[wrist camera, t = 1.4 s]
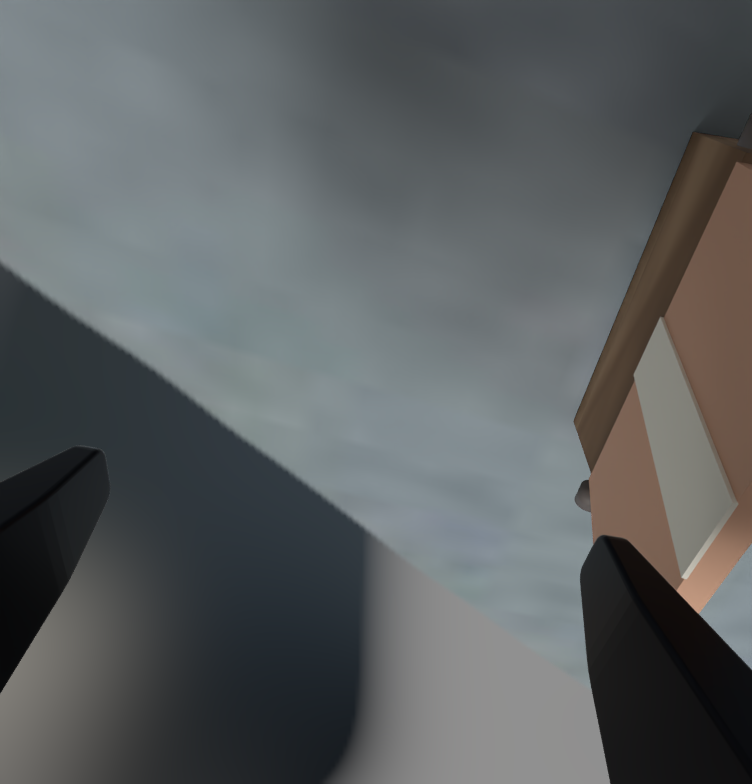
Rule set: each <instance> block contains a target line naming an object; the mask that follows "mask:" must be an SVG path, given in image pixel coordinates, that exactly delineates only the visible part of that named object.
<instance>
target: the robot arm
mask: <svg viewBox="0 0 752 784" xmlns="http://www.w3.org/2000/svg"><path fill="white" fill-rule="evenodd" d="M109 494H110V480H109V474H108V467H107V462H106V456H105V453H104V452H103V451H102V450H101V449H99V448H94V447H87V446H80V445H77V446H74V447H71V448H69V449H67V450H65V451H63V452H61V453H59V454H57V455H55V456H53V457H51V458H49V459H47V460H45V461H43V462H41V463H39V464H37V465H34V466H32V467H30V468H28V469H26V470H24V471H22V472H20V473H18V474H16V475H14V476H12V477H10V478H8V479H6V480H4V481H2V482H0V693H1V692H2V690H3V688H4V687H5V685H6V683H7V682H8V680H9V679H10V677H11V675H12V674H13V672H14V670H15V669H16V667H17V666H18V664H19V662H20V661H21V659H22V657H23V656H24V654H25V652H26V651H27V649H28V648H29V646H30V644H31V643H32V641H33V640H34V638H35V636H36V634H37V633H38V631H39V630H40V628H41V626H42V625H43V623H44V622H45V620H46V618H47V617H48V615H49V613H50V612H51V610H52V608H53V607H54V605H55V604H56V602H57V600H58V599H59V597H60V596H61V594H62V592H63V590H64V589H65V587H66V585H67V583H68V582H69V580H70V578H71V576H72V574H73V572H74V570H75V568H76V566H77V564H78V562H79V560H80V558H81V555H82V553H83V551H84V549H85V547H86V545H87V543H88V541H89V539H90V536H91V534H92V532H93V530H94V528H95V526H96V524H97V522H98V519H99V517H100V515H101V513H102V511H103V509H104V507H105V504H106V502H107V500H108V498H109ZM580 585H581V597H582V608H583V620H584V631H585V643H586V654H587V663H588V672H589V677H590V683H591V689H592V694H593V698H594V704H595V708H596V714H597V719H598V724H599V728H600V734H601V738H602V743H603V749H604V753H605V758H606V764H607V769H608V774H609V779H610V784H752V670H751V669H750V667H749V666H748V665H747V664H746V663H745V662H744V661H743V660H742V659H741V658H740V657H739V656H738V655H737V654H736V653H735V652H734V651H733V650H732V649H731V648H730V647H729V645H728V644H727V643H726V642H725V641H724V640H723V639H722V638H721V637H720V636H719V635H718V634H717V633H716V632H715V631H714V630H713V629H712V628H711V627H710V626H709V624H708V623H707V622H706V621H705V620H704V619H703V618H702V617H701V616H700V615H699V614H698V613H697V612H696V611H695V610H694V609H693V608H692V607H691V606H690V605H689V603H688V602H687V601H686V600H685V599H684V598H683V597H682V596H681V595H680V594H679V593H678V592H677V591H676V590H675V589H674V588H673V587H672V586H671V585H670V584H669V582H668V581H667V580H666V579H665V578H664V577H663V576H662V575H661V574H660V573H659V572H658V571H657V570H656V569H655V568H654V567H653V566H652V565H651V564H650V563H649V561H648V560H647V559H646V558H645V557H644V556H643V555H642V554H641V553H640V552H639V551H638V550H637V549H636V548H635V547H634V546H633V545H632V544H631V543H630V542H629V541H628V540H627V539H625V538H621V537H616V536H610V535H600V536H599V537H598V538H597V539H596V541H595V543H594V545H593V546H592V548H591V550H590V552H589V554H588V556H587V558H586V560H585V562H584V564H583V566H582V569H581V574H580Z"/></svg>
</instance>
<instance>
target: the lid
mask: <svg viewBox="0 0 752 784" xmlns="http://www.w3.org/2000/svg"><path fill="white" fill-rule="evenodd" d="M634 379H635V381H634V383H633V385H632V387H631V390H630V392H629V394H628V396H627V398H626V400H625V402H624V405H623V407H622V409H621V411H620V413H619V415H618V417H617V420H616V422H615V424H614V426H613V428H612V430H611V433H610V435H609V437H608V439H607V441H606V443H605V445H604V448H603V450H602V452H601V454H600V456H599V458H598V460H597V463H596V465H595V467H594V469H593V471H592V473H591V475H590V478H589V489H590V503H591V516H592V530H593V544H594V543H595V541H596V539H597V538H598V537H599V536H600V535H610V536H616V537H621V538H625V539H627V540H628V541H629V542H630V543H631V544H632V545H633V546H634V547H635V548H636V549H637V550H638V551H639V552H640V553H641V554H642V555H643V556H644V557H645V558H646V559H647V560H648V561H649V563H650V564H651V565H652V566H653V567H654V568H655V569H656V570H657V571H658V572H659V573H660V574H661V575H662V576H663V577H664V578H665V579H666V580H667V581H668V582H669V584H670V585H671V586H672V587H673V588H674V589H675V590H676V591H677V592H678V593H679V594H680V595H681V596H682V597H683V598H684V599H685V600H686V601H687V602H688V603H689V605H690V606H691V607H692V608H693V609H694V610H695V611H696V612H697V613H698V614H699V613H700V611H701V610H702V609H703V607H704V606H705V605H706V603H707V602H708V601H709V599H710V598H711V597H712V595H713V594H714V593H715V591H716V590H717V589H718V587H719V586H720V585H721V583H722V582H723V581H724V579H725V578H726V577H727V575H728V574H729V573H730V571H731V570H732V569H733V567H734V566H735V565H736V563H737V562H738V561H739V559H740V558H741V557H742V555H743V554H744V553H745V551H746V550H747V549H748V547H749V546H750V545H751V543H752V164H747V163H741V162H736V164H735V166H734V168H733V170H732V173H731V175H730V177H729V179H728V181H727V183H726V185H725V188H724V190H723V192H722V194H721V196H720V198H719V201H718V203H717V205H716V207H715V209H714V211H713V213H712V216H711V218H710V220H709V222H708V224H707V226H706V228H705V231H704V233H703V235H702V237H701V239H700V241H699V243H698V246H697V248H696V250H695V252H694V254H693V256H692V259H691V261H690V263H689V265H688V267H687V269H686V271H685V274H684V276H683V278H682V280H681V282H680V284H679V286H678V289H677V291H676V293H675V295H674V297H673V299H672V301H671V304H670V306H669V308H668V310H667V312H666V314H665V317H660V318H659V321H658V323H657V325H656V327H655V329H654V331H653V334H652V336H651V338H650V340H649V342H648V344H647V347H646V349H645V351H644V353H643V355H642V357H641V360H640V362H639V364H638V366H637V368H636V370H635V373H634Z"/></svg>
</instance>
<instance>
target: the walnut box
mask: <svg viewBox="0 0 752 784" xmlns="http://www.w3.org/2000/svg"><path fill="white" fill-rule="evenodd" d="M736 162H741V163H747V164H752V113H751V114H750V117H749V119H748V121H747V123H746V125H745V128H744V130H743V132H742V134H741V136H740V138H739V139H734V138H728V137H722V136H715V135H709V134H703V133H697V132H693V133H692V136H691V138H690V141H689V143H688V145H687V148H686V150H685V153H684V155H683V158H682V160H681V162H680V165H679V167H678V170H677V172H676V175H675V177H674V179H673V182H672V184H671V187H670V189H669V191H668V194H667V196H666V199H665V201H664V204H663V206H662V208H661V211H660V213H659V216H658V218H657V220H656V223H655V225H654V228H653V230H652V233H651V235H650V237H649V240H648V242H647V245H646V247H645V250H644V252H643V254H642V257H641V259H640V262H639V264H638V266H637V269H636V271H635V274H634V276H633V279H632V281H631V283H630V286H629V288H628V291H627V293H626V296H625V298H624V300H623V303H622V305H621V308H620V310H619V312H618V315H617V317H616V320H615V322H614V325H613V327H612V329H611V332H610V334H609V337H608V339H607V342H606V344H605V346H604V349H603V351H602V354H601V356H600V358H599V361H598V363H597V366H596V368H595V371H594V373H593V375H592V378H591V380H590V383H589V385H588V387H587V390H586V392H585V395H584V397H583V400H582V402H581V404H580V407H579V409H578V412H577V414H576V417H575V419H574V424H575V427H576V430H577V433H578V436H579V439H580V442H581V445H582V448H583V451H584V454H585V456H586V459H587V462H588V465H589V468H590V471H591V473H592V471H593V469H594V467H595V465H596V463H597V460H598V458H599V456H600V454H601V452H602V450H603V448H604V445H605V443H606V441H607V439H608V437H609V435H610V433H611V430H612V428H613V426H614V424H615V422H616V420H617V417H618V415H619V413H620V411H621V409H622V407H623V405H624V402H625V400H626V398H627V396H628V394H629V392H630V390H631V387H632V385H633V383H634V381H635V379H634V373H635V370H636V368H637V366H638V364H639V362H640V360H641V357H642V355H643V353H644V351H645V349H646V347H647V344H648V342H649V340H650V338H651V336H652V334H653V331H654V329H655V327H656V325H657V323H658V321H659V318H660V317H665V314H666V312H667V310H668V308H669V306H670V304H671V301H672V299H673V297H674V295H675V293H676V291H677V289H678V286H679V284H680V282H681V280H682V278H683V276H684V274H685V271H686V269H687V267H688V265H689V263H690V261H691V259H692V256H693V254H694V252H695V250H696V248H697V246H698V243H699V241H700V239H701V237H702V235H703V233H704V231H705V228H706V226H707V224H708V222H709V220H710V218H711V216H712V213H713V211H714V209H715V207H716V205H717V203H718V201H719V198H720V196H721V194H722V192H723V190H724V188H725V185H726V183H727V181H728V179H729V177H730V175H731V173H732V170H733V168H734V166H735V164H736ZM575 502H576V504H577V505H578V506H579V507H580V508H581V509H583V510H585V511H588V512H591V503H590V489H589V480H585V481H583V482H582V483H581V485H580V488H579V490H578V492H577V494H576V496H575Z"/></svg>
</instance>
